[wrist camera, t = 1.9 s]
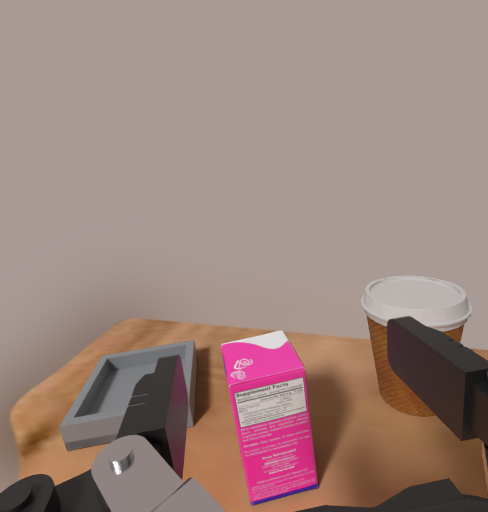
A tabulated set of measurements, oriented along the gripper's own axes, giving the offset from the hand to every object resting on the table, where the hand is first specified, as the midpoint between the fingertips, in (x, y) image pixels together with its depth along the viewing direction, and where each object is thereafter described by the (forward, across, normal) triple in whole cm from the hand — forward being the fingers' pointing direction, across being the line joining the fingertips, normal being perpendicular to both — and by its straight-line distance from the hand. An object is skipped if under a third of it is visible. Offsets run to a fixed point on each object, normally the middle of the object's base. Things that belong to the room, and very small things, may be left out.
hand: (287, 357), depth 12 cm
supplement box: (+11, 0, +18) cm, 21 cm away
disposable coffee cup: (+16, -16, +18) cm, 29 cm away
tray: (+24, +14, +18) cm, 33 cm away
